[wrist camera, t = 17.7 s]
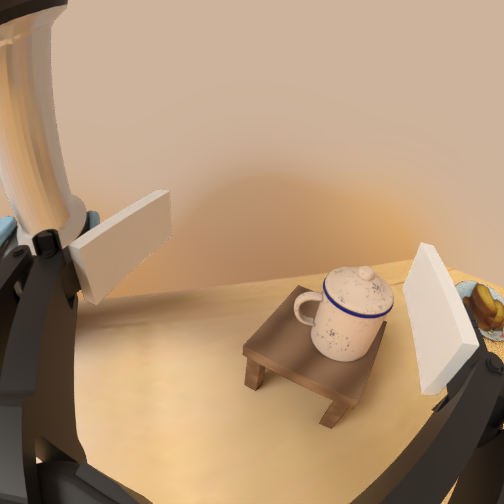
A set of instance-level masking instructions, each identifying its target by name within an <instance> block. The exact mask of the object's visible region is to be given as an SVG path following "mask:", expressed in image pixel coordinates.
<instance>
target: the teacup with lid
mask: <svg viewBox="0 0 504 504" xmlns="http://www.w3.org/2000/svg"><path fill="white" fill-rule="evenodd" d="M323 289H324V290H323V293H320V292H305V293H303V294H301V295H299V296H298V297H297V298H296V300H295V303H294V312H295V315H296V317H297V319H298V320H299V321H300V322H302V323H304V324H306V325H311V326H312V330H311V338H312V341H313V343H314V345H315V347H316V348H317V349H318V350H319V351H320V352H321V353H322V354H323V355H325V356H327V357H328V358H331V359H333V360H336V361H342V362H349V361H355V360H357V359H359V358H361V357H363V356H364V355H365V354H366V353H367V351H368V350H369V348H370V346H371V344H372V342H373V340H374V338H375V337H376V335H377V333H378V331H379V329H380V327H381V325H382V323H383V321H384V319H385V317H386V315H387V313H388V312H389V311H390V310H391V309H392V307H393V302H394V296H393V292H392V289H391V288H390V286H389V285H388V283H387V282H386V281H385V280H384V279H382V278H381V277H380V276H378V275H377V274H375V273H374V270H373V269H372V268H371V267H369V266H361V267H359V268H358V267H341V268H337V269H335V270H333V271H332V272H330V273H329V274H328V275H327V277H326V278H325V280H324V283H323ZM310 300H313V301H320V304H319V307H318V310H317V314H316V317H315V318H313V317H309V316H306V315H304V314H303V313H302V312H301V310H300V305H301V304H302V303H304V302H306V301H310Z"/></svg>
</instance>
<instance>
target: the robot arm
mask: <svg viewBox="0 0 504 504" xmlns="http://www.w3.org/2000/svg"><path fill="white" fill-rule="evenodd" d="M67 3H68V0H0V180H1V182H2V185H3V187H4V190H5V192H6V195H7V197H8V200H9V202H10V204H11V206H12V209H13V211H14V213H15V215H16V217H17V219H18V221H19V225H18V226H17V221H16V219H15V217H13V216H6V217H3V218H0V504H153V503H152V502H150V501H149V500H148V499H147V498H145V497H144V496H142V495H140V494H139V493H137V492H135V491H133V490H131V489H129V488H128V487H126V486H124V485H122V484H121V483H119V482H117V481H115V480H114V479H112V478H110V477H108V476H107V475H105V474H103V473H102V472H100V471H98V470H97V469H95V468H94V467H92V466H91V465H89V464H88V463H87V459H86V455H85V452H84V449H83V447H82V446H81V444H80V442H79V440H78V437H77V430H76V419H75V404H74V345H75V329H76V317H77V307H78V296H77V294H76V293H77V292H78V291H79V290H82V293H83V296H84V299H85V300H86V301H88V302H90V303H92V304H94V305H97V304H98V303H99V302H100V301H102V300H103V299H104V298H105V297H106V296H107V295H108V294H109V293H110V292H111V291H112V290H113V289H114V288H115V287H116V286H117V285H118V284H119V283H120V282H121V281H122V280H123V279H125V278H126V277H127V276H128V275H129V274H130V273H131V272H132V271H133V270H134V269H135V268H137V267H138V266H139V265H140V264H141V263H142V262H143V261H144V260H145V259H147V258H148V257H149V256H150V255H151V254H152V253H153V252H154V251H156V250H157V249H158V248H159V247H160V246H161V245H162V244H164V243H165V242H166V241H167V240H168V239H169V238H171V236H172V226H171V207H170V191H166V190H157V191H155V192H153V193H151V194H149V195H147V196H146V197H144V198H142V199H140V200H139V201H137V202H135V203H133V204H132V205H130V206H128V207H127V208H125V209H123V210H121V211H120V212H118V213H117V214H115V215H113V216H112V217H110V218H108V219H107V220H105V221H104V222H102V223H100V217H99V214H98V213H97V212H96V211H88V212H87V211H86V208H85V205H84V203H83V202H82V200H81V199H80V198H78V197H77V196H75V195H73V194H71V192H70V188H69V184H68V180H67V176H66V172H65V167H64V162H63V158H62V153H61V148H60V143H59V137H58V131H57V124H56V117H55V109H54V100H53V89H52V75H51V26H52V24H53V23H54V21H55V20H56V19H57V17H58V16H59V15H60V14H61V13H62V12H63V11H64V10H65V9H66V8H67ZM403 292H404V296H405V300H406V305H407V309H408V314H409V318H410V323H411V328H412V333H413V338H414V344H415V350H416V356H417V362H418V370H419V377H420V385H421V394H427V395H438V394H439V393H440V392H441V391H442V390H443V389H444V388H445V387H446V386H447V392H448V394H447V395H446V396H445V397H444V398H443V399H442V400H441V401H440V402H439V403H438V404H437V405H436V406H435V407H434V408H433V409H432V410H433V411H434V412H433V414H432V415H431V417H430V418H429V419H428V421H427V422H426V423H425V425H424V426H423V427H422V429H421V430H420V431H419V433H418V434H417V435H416V436H415V438H414V439H413V440H412V441H411V442H410V444H409V445H408V446H407V447H406V448H405V450H404V451H403V452H402V453H401V454H400V455H399V456H398V457H397V459H396V460H395V461H394V462H393V463H392V464H391V465H390V466H389V467H388V468H387V469H386V470H385V471H384V472H383V473H382V474H381V475H380V476H379V477H378V478H377V479H376V480H375V481H374V482H373V483H372V484H371V485H370V486H369V487H368V488H367V489H366V490H365V491H363V492H362V493H361V494H360V495H359V496H358V497H357V498H355V499H354V500H353V501H352V502H351V503H350V504H441V502H442V501H443V500H444V498H445V497H446V495H447V494H448V493H449V491H450V490H451V488H452V487H453V485H454V484H455V482H456V481H457V479H458V481H457V483H456V486H455V488H454V491H453V493H452V495H451V497H450V500H449V502H448V504H504V429H503V424H504V364H503V362H502V360H501V359H500V358H499V357H498V356H497V355H496V354H494V353H493V352H488V350H487V347H486V344H485V342H484V339H483V336H482V334H481V331H480V329H479V326H478V324H477V322H476V319H475V317H474V315H473V312H472V311H471V309H470V308H469V307H468V306H467V304H466V303H463V302H462V300H461V298H460V296H459V294H458V292H457V290H456V288H455V285H454V283H453V281H452V279H451V277H450V275H449V273H448V271H447V270H446V268H445V266H444V264H443V262H442V260H441V258H440V256H439V255H438V253H437V251H436V249H435V247H434V246H433V245H429V244H425V243H421V244H420V246H419V249H418V252H417V254H416V257H415V259H414V262H413V264H412V267H411V269H410V271H409V274H408V276H407V278H406V281H405V283H404V285H403ZM36 457H37V458H39V459H40V460H41V461H42V463H38V464H36ZM458 477H459V478H458Z"/></svg>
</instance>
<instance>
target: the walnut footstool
mask: <svg viewBox="0 0 504 504" xmlns="http://www.w3.org/2000/svg"><path fill="white" fill-rule="evenodd" d="M305 292H314V291H311V290H309V289H307V288H304V287H302V286H299V285H298V286H297V287H296V288H295V289H294V291H293V292H292V293H291V294H290V295H289V296H288V297H287V299H286V300H285V301H284V302H283V303H282V304H281V305H280V306H279V308H278V309H277V310H276V311H275V312H274V313H273V314H272V315H271V316H270V317H269V319H268V320H267V321H266V322H265V323H264V324H263V325H262V326H261V327H260V328H259V329H258V330H257V332H256V333H255V334H254V335H253V336H252V337H251V338H250V339H249V340H248V341H247V342H246V343H245V344H244V346H243V355H244V356H246V357H248V358H247V367H246V376H245V384H244V385H246V386H248V387H249V388H251V389H253V390H255V391H256V390H257V388H258V387H259V386H260V385H261V383H262V382H263V377H264V372H265V367H266V368H268V369H270V370H272V371H274V372H276V373H277V374H279V375H281V376H283V377H285V378H287V379H289V380H291V381H293V382H295V383H297V384H299V385H301V386H303V387H305V388H308V389H310V390H312V391H314V392H316V393H318V394H320V395H322V396H325V397H327V398H329V399H331V400H333V402H332V403H331V405H330V406H329V408H328V409H327V411H326V412H325V414H324V416H323V418H322V419H321V421H320V423H319V424H322V425H324V426H326V427H328V428H332V427H333V426H334V425H335V423H336V422H337V421H338V420H339V418H340V417H341V416H342V415H343V413H344V412H345V411H346V409H347V408H348V407H350V408H352V409H353V408H354V406H355V405H356V404H357V402H358V401H359V399H360V396H361V394H362V392H363V389H364V387H365V384H366V381H367V379H368V376H369V374H370V371H371V368H372V366H373V363H374V360H375V357H376V354H377V351H378V348H379V345H380V342H381V339H382V336H383V333H384V329H385V326H386V323H387V322H386V321H383V323H382V325H381V327H380V329H379V331H378V333H377V335H376V337H375V338H374V340H373V342H372V344H371V346H370V348H369V350H368V351H367V353H366V354H365V355H364V356H363V357H361V358H359V359H357V360H355V361H349V362H342V361H336V360H333V359H331V358H328V357H327V356H325V355H323V354H322V353H321V352H320V351H319V350H318V349H317V348H316V347H315V345H314V343H313V341H312V338H311V330H312V326H311V325H306V324H304V323H302V322H300V321H299V320H298V319H297V317H296V315H295V312H294V303H295V300H296V298H297V297H298V296H299V295H301V294H303V293H305ZM319 304H320V301H313V300H310V301H306V302H304V303H302V304H301V305H300V310H301V312H302V313H303V314H304V315H306V316H309V317H313V318H315V317H316V314H317V310H318V307H319Z"/></svg>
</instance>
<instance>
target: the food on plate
mask: <svg viewBox="0 0 504 504" xmlns="http://www.w3.org/2000/svg"><path fill="white" fill-rule="evenodd" d="M455 288H456V290H457V292H458V294H459V296H460V298H461V300H462V302H463V303H466V304H467V306H468V307H469V308H470V309H471V311H472V312H473V315H474V317H475V319H476V322H477V324H478V326H479V329H480V331H481V334H482V335H484V336H485V337H486V338H489V339H492V340H493V341H501V340H504V298H502V296H501V295H499V294H498V293H497V292H496V291H495V290H494V289H491V288H490V287H489V286H487V285H484V284H482V283H478V282H476V281H462V282H460V283H458V284H457V285H456V286H455ZM488 330H490V332H492V333H494V332H495V333H494V334H493V335H492V334H489V333H488ZM495 339H498V340H495Z"/></svg>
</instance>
